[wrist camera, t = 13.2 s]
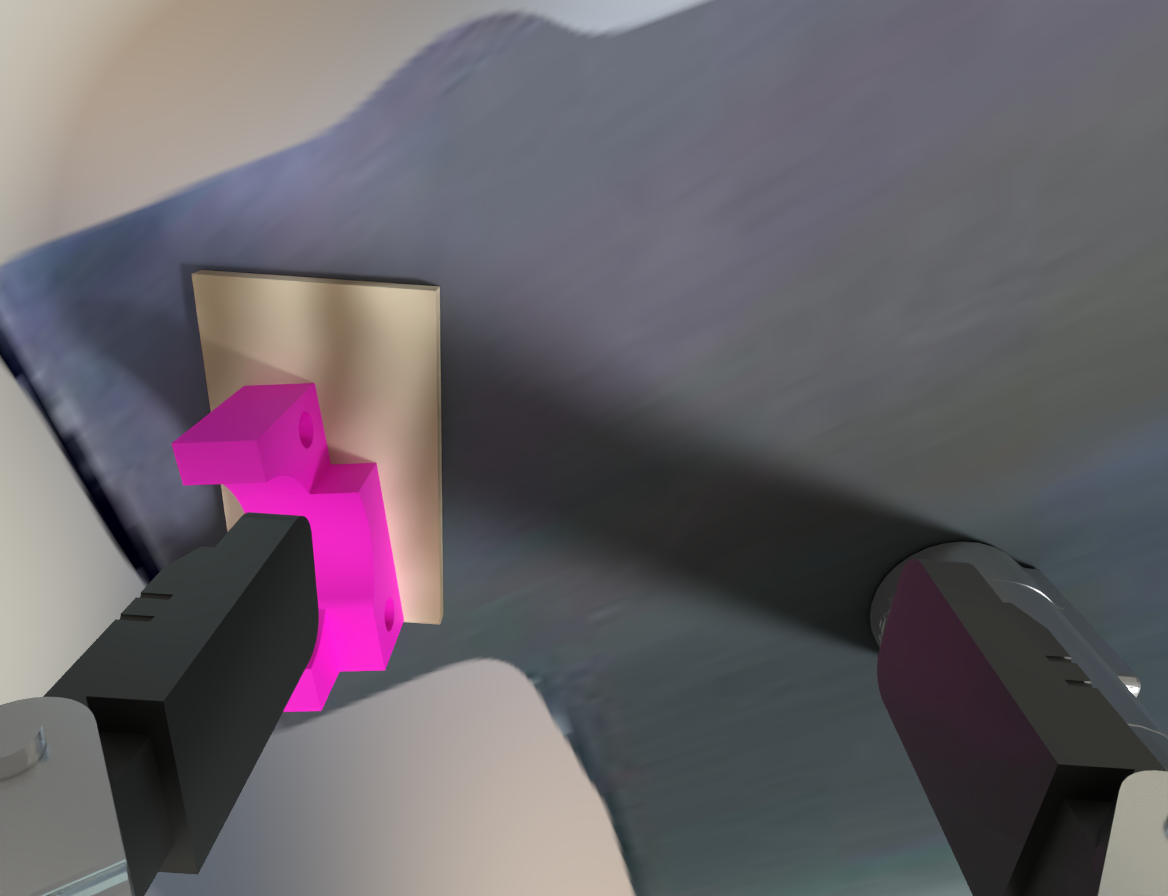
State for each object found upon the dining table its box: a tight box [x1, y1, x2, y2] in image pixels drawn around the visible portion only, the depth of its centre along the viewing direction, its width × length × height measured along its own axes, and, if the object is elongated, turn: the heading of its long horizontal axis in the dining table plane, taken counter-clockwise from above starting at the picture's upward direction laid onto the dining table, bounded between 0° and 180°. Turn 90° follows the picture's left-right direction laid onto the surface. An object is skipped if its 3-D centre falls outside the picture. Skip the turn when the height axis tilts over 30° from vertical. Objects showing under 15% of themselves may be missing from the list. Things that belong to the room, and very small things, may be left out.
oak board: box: [191, 270, 443, 624], centre depth 43 cm, size 12×20×1 cm, turn 176°
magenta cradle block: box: [172, 383, 404, 712], centre depth 40 cm, size 15×6×8 cm, turn 3°
